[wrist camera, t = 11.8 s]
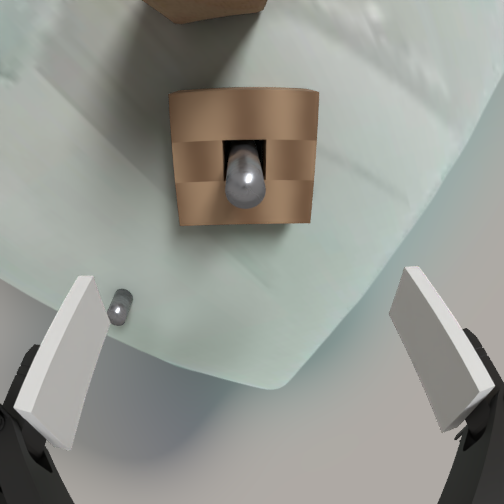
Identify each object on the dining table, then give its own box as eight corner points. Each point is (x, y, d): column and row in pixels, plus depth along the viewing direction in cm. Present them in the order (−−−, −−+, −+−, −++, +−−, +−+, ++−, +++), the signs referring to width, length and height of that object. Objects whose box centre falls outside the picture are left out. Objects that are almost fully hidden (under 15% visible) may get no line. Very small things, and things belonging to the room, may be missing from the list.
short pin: (117, 303, 47) (109, 325, 42) (113, 288, 45) (103, 310, 41) (134, 303, 47) (127, 326, 43) (130, 288, 45) (121, 311, 41)
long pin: (230, 159, 35) (225, 209, 24) (229, 134, 34) (224, 171, 22) (255, 158, 36) (265, 208, 24) (256, 134, 34) (266, 171, 22)
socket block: (187, 203, 38) (179, 225, 33) (179, 90, 31) (168, 93, 26) (300, 201, 39) (310, 223, 34) (306, 88, 31) (319, 92, 26)
